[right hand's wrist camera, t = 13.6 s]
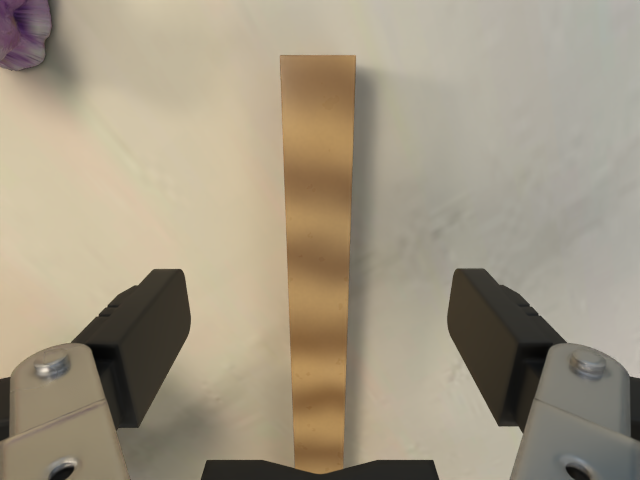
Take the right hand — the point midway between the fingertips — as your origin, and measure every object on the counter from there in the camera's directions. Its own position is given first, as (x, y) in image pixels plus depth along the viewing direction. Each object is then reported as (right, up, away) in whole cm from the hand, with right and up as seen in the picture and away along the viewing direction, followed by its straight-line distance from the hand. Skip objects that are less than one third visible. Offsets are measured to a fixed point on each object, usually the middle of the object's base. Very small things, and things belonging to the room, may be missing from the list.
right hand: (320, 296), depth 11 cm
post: (0, -16, +32) cm, 36 cm away
